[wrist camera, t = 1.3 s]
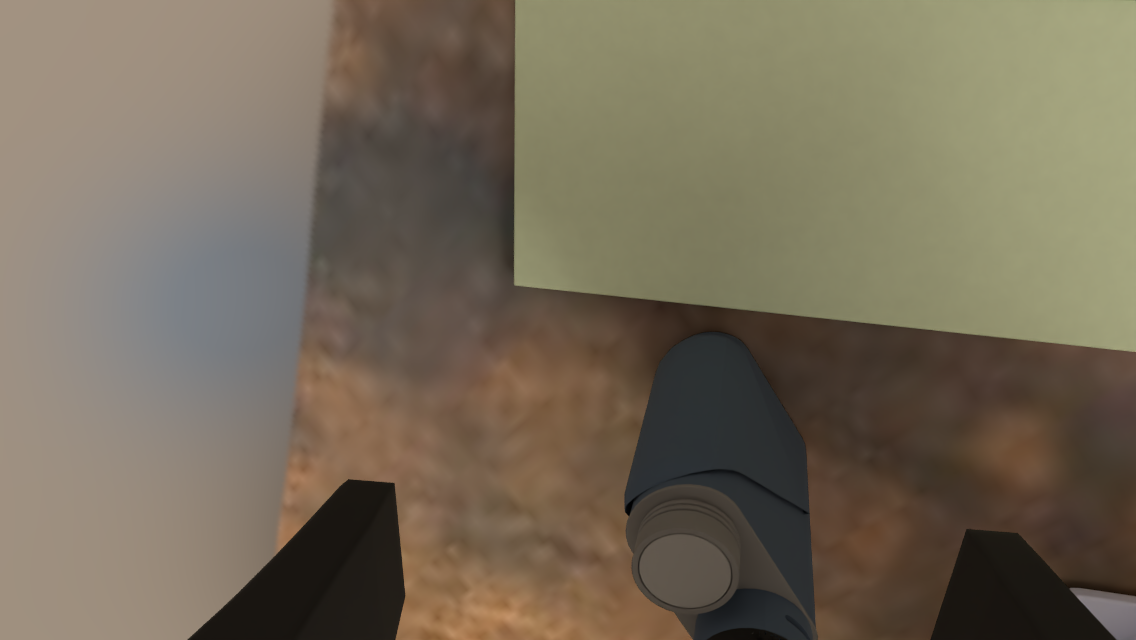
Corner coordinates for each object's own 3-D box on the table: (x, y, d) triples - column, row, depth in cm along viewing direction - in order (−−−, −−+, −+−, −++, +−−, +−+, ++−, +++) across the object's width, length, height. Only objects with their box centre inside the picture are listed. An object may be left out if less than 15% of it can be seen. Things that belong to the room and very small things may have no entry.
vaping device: (738, 499, 26) (712, 924, 15) (642, 348, 24) (539, 697, 14) (824, 465, 25) (861, 894, 14) (729, 306, 23) (689, 646, 13)
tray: (1271, 360, 21) (1282, 370, 21) (517, 280, 24) (512, 287, 24) (1437, -60, 18) (1454, -60, 17) (519, -92, 21) (513, -92, 20)
